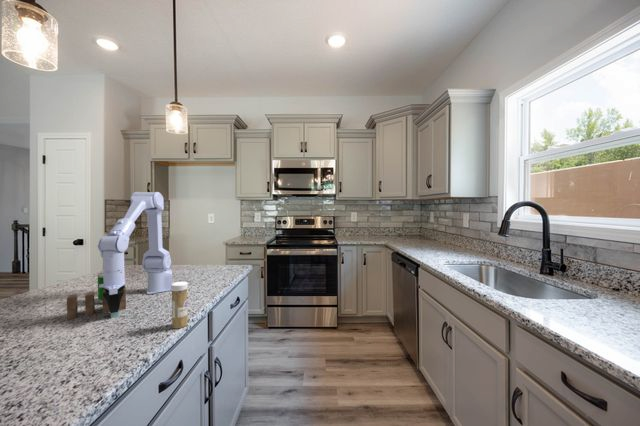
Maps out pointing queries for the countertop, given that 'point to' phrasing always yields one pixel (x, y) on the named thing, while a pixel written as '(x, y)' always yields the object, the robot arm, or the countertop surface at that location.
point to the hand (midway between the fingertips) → (114, 309)
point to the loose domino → (114, 314)
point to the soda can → (100, 290)
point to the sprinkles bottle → (179, 304)
